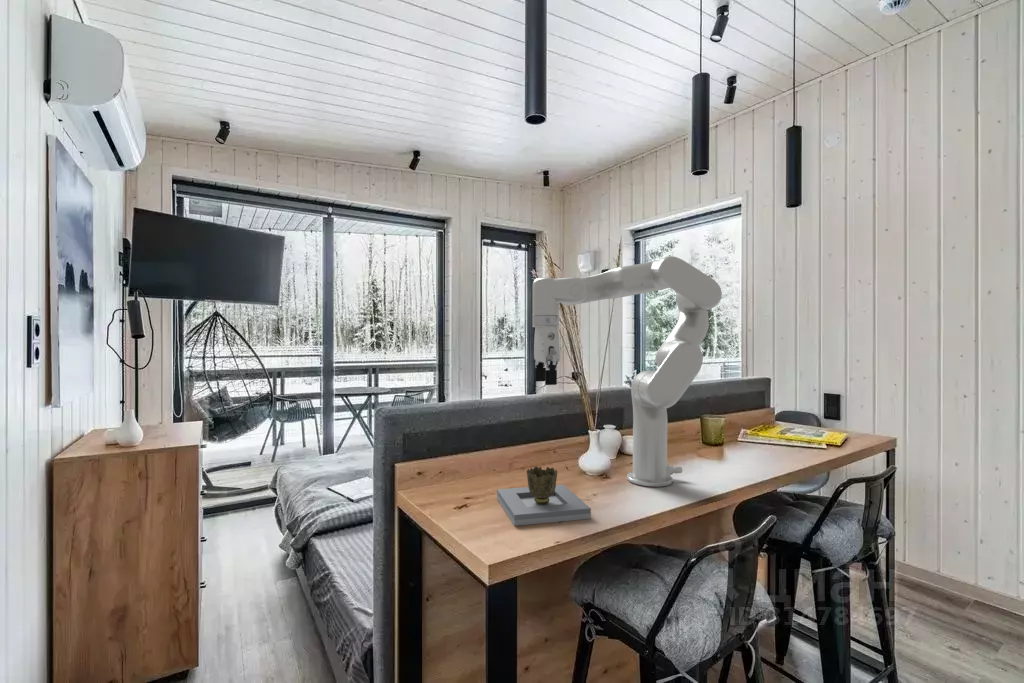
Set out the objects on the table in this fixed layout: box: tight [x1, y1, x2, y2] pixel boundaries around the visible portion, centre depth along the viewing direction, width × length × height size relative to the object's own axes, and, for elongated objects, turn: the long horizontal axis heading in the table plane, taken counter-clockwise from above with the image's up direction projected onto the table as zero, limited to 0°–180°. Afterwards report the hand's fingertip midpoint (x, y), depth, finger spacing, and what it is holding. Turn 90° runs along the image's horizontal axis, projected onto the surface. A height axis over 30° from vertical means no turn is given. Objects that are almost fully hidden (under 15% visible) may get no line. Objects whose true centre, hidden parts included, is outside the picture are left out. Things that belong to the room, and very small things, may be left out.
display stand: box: [496, 484, 592, 527], centre depth 118 cm, size 18×18×2 cm
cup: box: [526, 465, 558, 505], centre depth 118 cm, size 8×7×8 cm
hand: (545, 382), depth 138 cm, fingers open, 9 cm apart
